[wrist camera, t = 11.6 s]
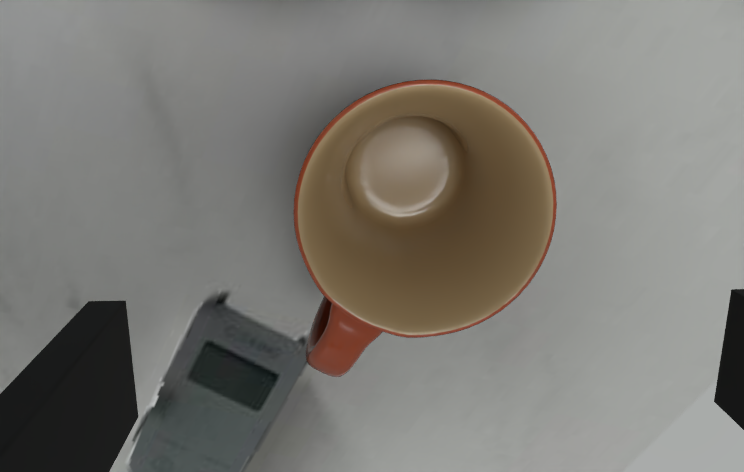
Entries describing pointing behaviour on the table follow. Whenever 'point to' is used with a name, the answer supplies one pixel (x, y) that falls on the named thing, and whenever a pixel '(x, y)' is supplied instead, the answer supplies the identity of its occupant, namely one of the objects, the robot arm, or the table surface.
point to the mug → (419, 216)
